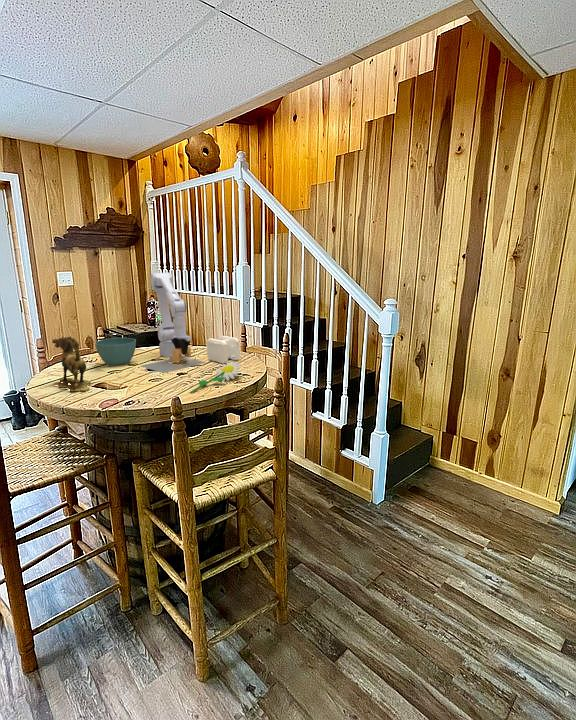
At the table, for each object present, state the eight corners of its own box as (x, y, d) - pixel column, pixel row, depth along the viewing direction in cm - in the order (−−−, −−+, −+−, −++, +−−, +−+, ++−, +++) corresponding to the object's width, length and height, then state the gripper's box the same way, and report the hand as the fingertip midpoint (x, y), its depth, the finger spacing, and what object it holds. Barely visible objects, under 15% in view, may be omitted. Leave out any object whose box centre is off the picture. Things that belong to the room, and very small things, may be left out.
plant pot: (133, 359, 213) (130, 336, 210) (142, 366, 198) (139, 342, 195) (95, 364, 203) (92, 340, 200) (102, 372, 189) (98, 346, 186)
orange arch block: (172, 361, 198) (171, 349, 197) (186, 358, 204) (185, 346, 203) (177, 362, 196) (176, 350, 194) (191, 359, 201) (190, 347, 200)
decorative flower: (203, 401, 156) (248, 372, 180) (201, 390, 155) (246, 362, 179) (179, 398, 163) (225, 370, 187) (177, 387, 161) (223, 360, 185)
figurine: (81, 376, 183) (75, 332, 178) (100, 389, 165) (93, 340, 160) (49, 382, 175) (41, 336, 170) (65, 396, 157) (57, 344, 152)
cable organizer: (241, 361, 207) (240, 338, 204) (224, 365, 200) (223, 342, 197) (222, 356, 217) (221, 335, 214) (206, 360, 210) (205, 338, 207)
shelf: (140, 368, 194) (139, 359, 193) (182, 359, 212) (182, 350, 211) (163, 376, 182) (162, 366, 181) (206, 365, 199) (206, 355, 198)
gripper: (163, 325, 197) (166, 353, 201) (181, 328, 188) (183, 357, 192) (176, 323, 203) (178, 350, 206) (194, 326, 193) (196, 354, 197)
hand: (181, 353), depth 199 cm, fingers closed on orange arch block, 4 cm apart
